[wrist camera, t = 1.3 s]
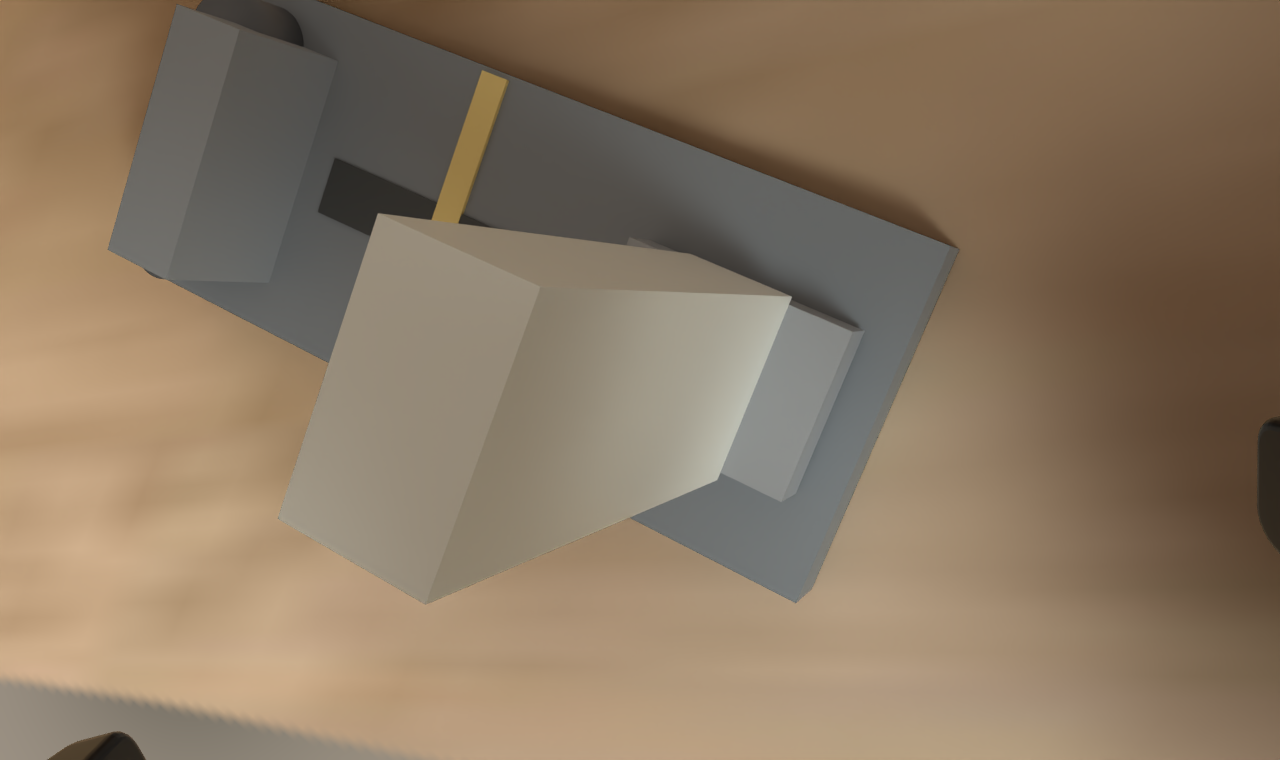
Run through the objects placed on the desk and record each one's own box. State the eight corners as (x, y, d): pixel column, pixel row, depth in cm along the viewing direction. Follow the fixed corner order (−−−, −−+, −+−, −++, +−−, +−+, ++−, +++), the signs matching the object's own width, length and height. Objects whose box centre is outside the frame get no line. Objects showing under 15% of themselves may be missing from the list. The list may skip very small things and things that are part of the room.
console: (959, 249, 21) (923, 236, 17) (811, 588, 23) (748, 646, 19) (288, -11, 27) (145, -66, 23) (200, 279, 28) (53, 274, 24)
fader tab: (868, 323, 21) (647, 336, 11) (792, 501, 21) (521, 660, 12) (652, 232, 22) (288, 173, 12) (588, 402, 23) (195, 470, 13)
